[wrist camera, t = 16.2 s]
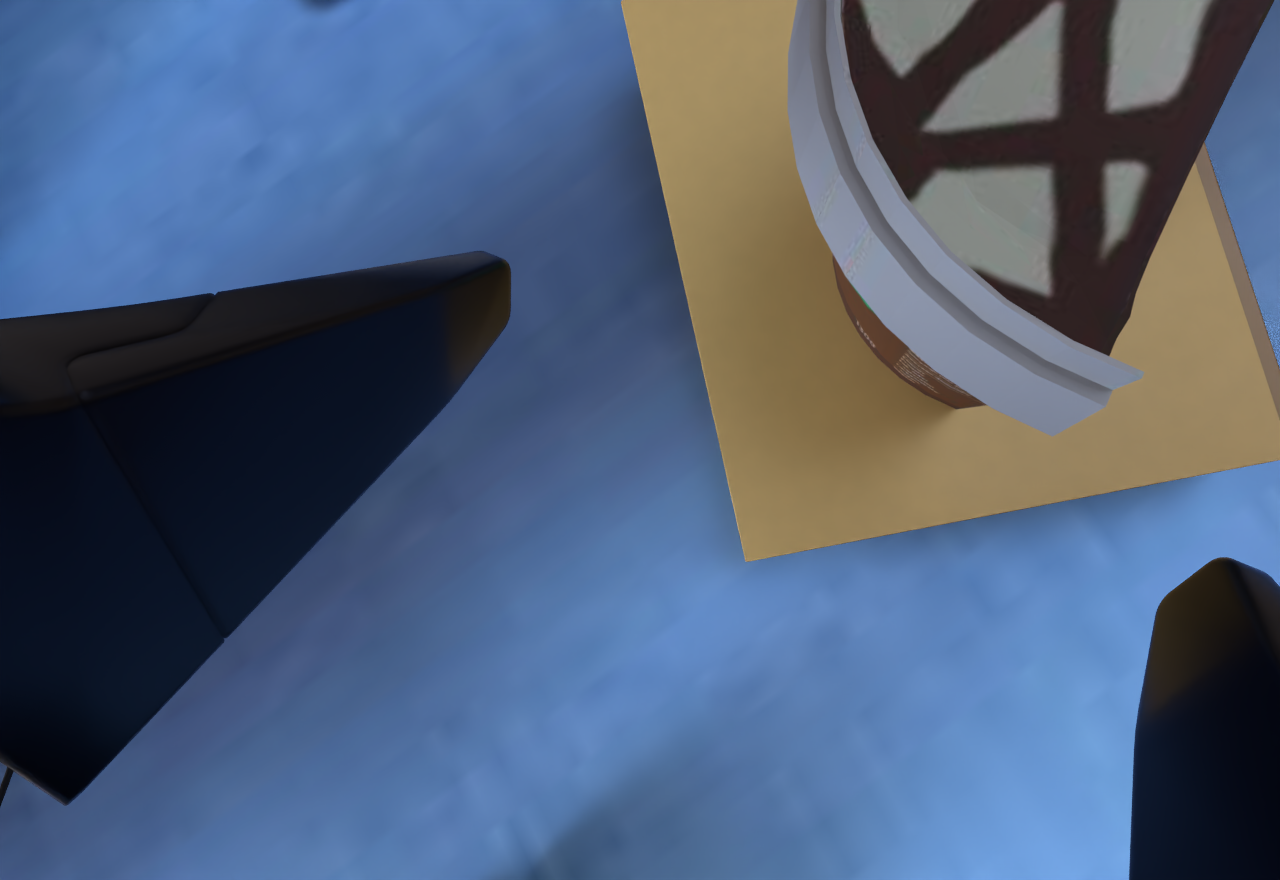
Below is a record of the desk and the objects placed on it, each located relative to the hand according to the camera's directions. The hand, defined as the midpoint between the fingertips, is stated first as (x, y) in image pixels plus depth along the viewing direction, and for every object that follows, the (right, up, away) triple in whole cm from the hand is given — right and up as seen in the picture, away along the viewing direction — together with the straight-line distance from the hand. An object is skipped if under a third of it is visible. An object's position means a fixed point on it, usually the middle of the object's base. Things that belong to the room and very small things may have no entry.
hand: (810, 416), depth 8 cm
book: (+6, +6, +13) cm, 15 cm away
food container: (+5, +6, +10) cm, 13 cm away
